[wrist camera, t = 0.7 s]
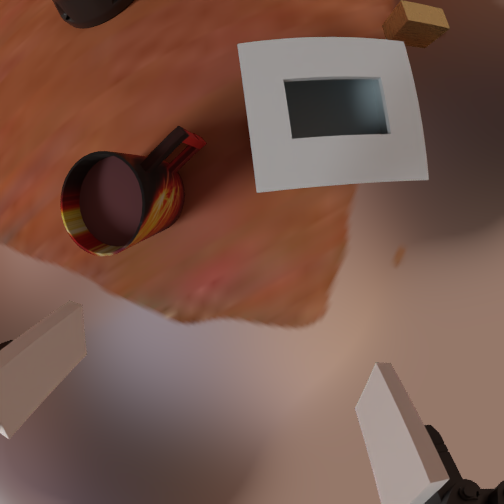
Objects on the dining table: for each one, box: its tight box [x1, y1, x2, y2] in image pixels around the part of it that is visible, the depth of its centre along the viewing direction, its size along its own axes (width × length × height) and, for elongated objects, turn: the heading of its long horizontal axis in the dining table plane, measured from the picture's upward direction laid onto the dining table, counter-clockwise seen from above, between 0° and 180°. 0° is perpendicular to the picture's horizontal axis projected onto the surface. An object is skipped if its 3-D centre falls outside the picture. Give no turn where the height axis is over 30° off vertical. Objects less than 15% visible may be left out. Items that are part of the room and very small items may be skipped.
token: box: [382, 0, 450, 48], centre depth 25 cm, size 3×6×8 cm, turn 97°
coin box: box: [237, 37, 429, 193], centre depth 28 cm, size 14×16×10 cm
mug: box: [60, 126, 207, 256], centre depth 30 cm, size 10×14×12 cm
